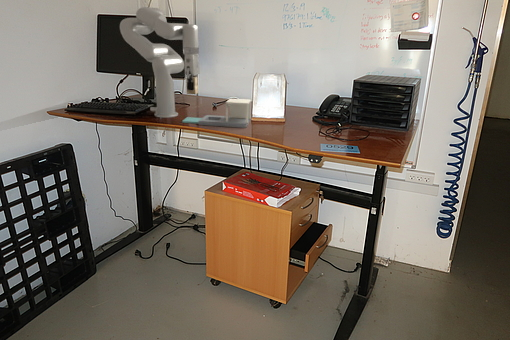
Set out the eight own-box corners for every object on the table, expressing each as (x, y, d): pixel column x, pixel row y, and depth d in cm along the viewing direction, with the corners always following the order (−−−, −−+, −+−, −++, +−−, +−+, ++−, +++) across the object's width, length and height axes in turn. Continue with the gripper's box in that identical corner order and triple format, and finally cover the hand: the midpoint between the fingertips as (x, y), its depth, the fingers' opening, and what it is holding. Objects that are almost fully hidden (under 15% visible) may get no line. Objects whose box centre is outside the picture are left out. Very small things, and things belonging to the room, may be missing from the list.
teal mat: (182, 122, 194) (181, 121, 194) (187, 118, 203) (187, 117, 202) (199, 123, 193) (199, 122, 193) (203, 119, 202) (203, 118, 201)
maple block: (186, 93, 191) (186, 77, 188) (189, 92, 195) (188, 76, 192) (195, 94, 190) (194, 78, 188) (197, 92, 195) (197, 77, 192)
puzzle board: (198, 124, 191) (198, 121, 190) (205, 118, 204) (205, 114, 203) (245, 127, 188) (245, 123, 187) (250, 121, 201) (250, 117, 200)
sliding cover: (225, 121, 190) (225, 102, 187) (230, 117, 200) (230, 98, 196) (247, 122, 189) (247, 103, 185) (250, 118, 198) (251, 99, 195)
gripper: (193, 52, 177) (194, 92, 184) (203, 50, 193) (203, 87, 199) (177, 52, 178) (179, 91, 185) (188, 50, 194) (190, 86, 200)
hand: (192, 88), depth 192 cm, fingers closed on maple block, 4 cm apart
